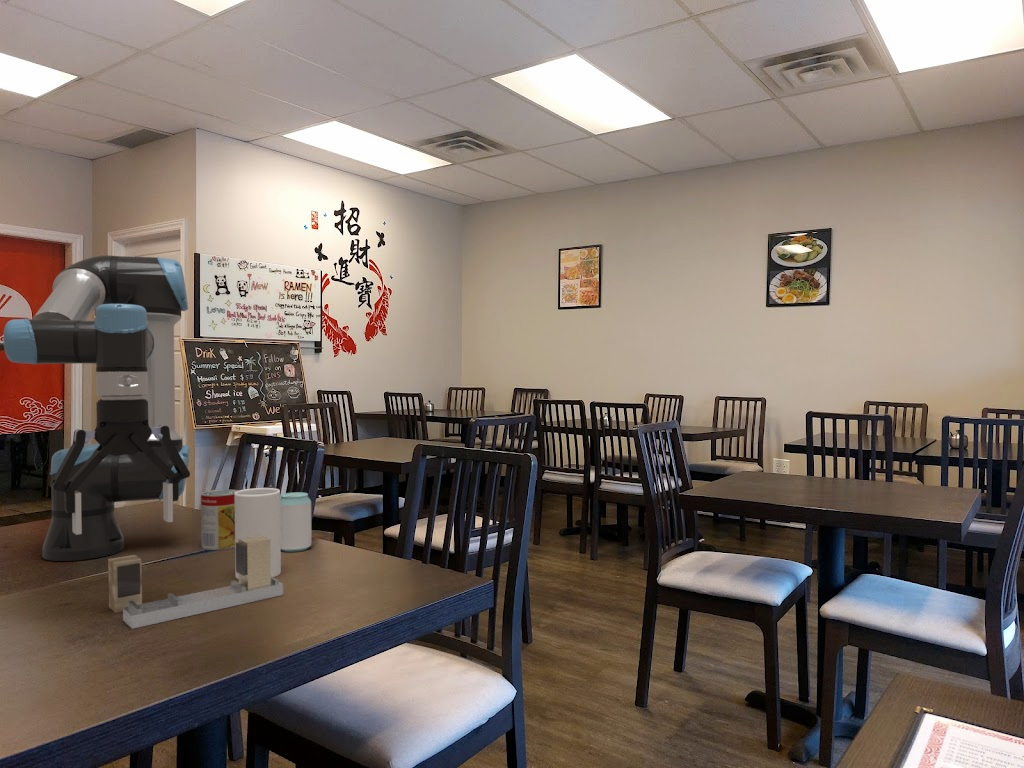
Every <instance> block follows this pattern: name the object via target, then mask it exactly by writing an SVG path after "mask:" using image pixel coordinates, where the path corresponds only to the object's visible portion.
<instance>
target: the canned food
mask: <svg viewBox="0 0 1024 768" xmlns="http://www.w3.org/2000/svg"><path fill="white" fill-rule="evenodd" d="M236 491H239V490H238V489H228V488H227V489H213V490H208V491H203V492H201V493H200V503H201V504H200V508H201V509H200V512H201V513H200V517H201V518H200V519H201V522H200V523H201V527H200V528H201V529H200V530H201V548H202V549H203V550H208V551H220V550H228V549H232V548H235V492H236Z"/></svg>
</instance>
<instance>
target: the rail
mask: <svg viewBox="0 0 1024 768" xmlns="http://www.w3.org/2000/svg"><path fill="white" fill-rule="evenodd" d="M236 572H237V573H239V579H238V581H236V580H231V581H230V585H228V586H223V587H218V588H214V589H213V588H212V589H207V590H203V591H198V592H192V593H187V594H184V595H178V596H177V595H175V594H174V593H172V592H170V593H167V598H165V599H164V598H163V599H159V600H154V601H149V602H144V603H142V604H139V605H137V604H136V603H135V602H134V601H129V602H128V603H129V607H124V608H123V612H122V621H123V622H124V624H126V625H127V626H128V627H129V628H130V629H131V630H133V629H138V628H142V627H147V626H151V625H156V624H160V623H165V622H169V621H172V620H173V621H174V620H178V619H181V618H183V619H184V618H187V617H190V616H195V615H201V614H204V613H209V612H214V611H218V610H222V609H223V610H224V609H226V608H232V607H235V606H241V605H244V604H249V603H254V602H258V601H259V602H260V601H262V600H266V599H268V600H269V599H271V598H277V597H280V596H284V583H282V582H281V581H280V580H279V579H278V578H276V577H272V576H271V556H270V539H269V538H266V537H264V536H261V535H260V536H253V537H247V538H241V539H238V543H236Z"/></svg>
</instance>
